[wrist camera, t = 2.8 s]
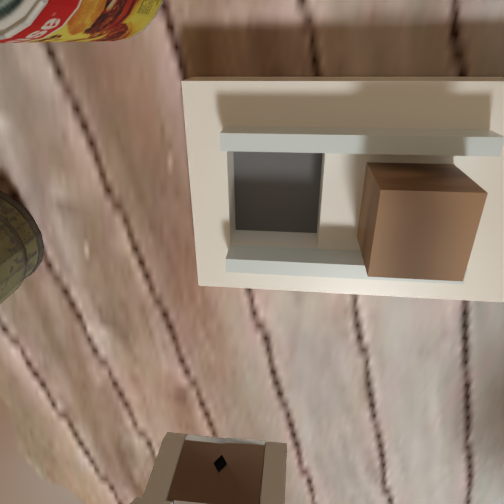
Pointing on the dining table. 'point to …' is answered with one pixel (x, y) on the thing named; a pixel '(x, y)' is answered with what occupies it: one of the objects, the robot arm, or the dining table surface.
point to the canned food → (74, 19)
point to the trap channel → (332, 175)
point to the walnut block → (418, 220)
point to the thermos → (17, 245)
